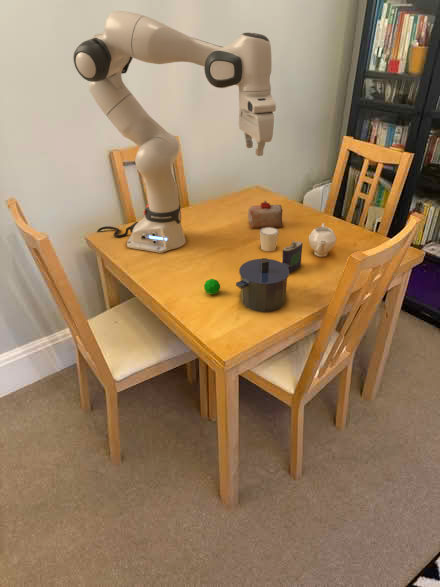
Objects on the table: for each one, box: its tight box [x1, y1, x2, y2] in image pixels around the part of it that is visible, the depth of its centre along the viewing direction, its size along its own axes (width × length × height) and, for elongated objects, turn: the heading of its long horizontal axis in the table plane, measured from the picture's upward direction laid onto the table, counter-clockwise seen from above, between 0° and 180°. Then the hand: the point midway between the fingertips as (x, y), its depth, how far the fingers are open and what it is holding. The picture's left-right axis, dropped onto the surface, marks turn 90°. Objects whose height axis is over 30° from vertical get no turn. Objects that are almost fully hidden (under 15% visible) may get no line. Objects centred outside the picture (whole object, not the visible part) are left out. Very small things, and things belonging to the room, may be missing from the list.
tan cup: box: [259, 227, 280, 252], centre depth 155 cm, size 7×7×7 cm
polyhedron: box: [203, 278, 221, 295], centre depth 130 cm, size 5×5×5 cm
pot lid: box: [238, 257, 290, 285], centre depth 122 cm, size 15×15×5 cm
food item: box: [247, 200, 284, 229], centre depth 171 cm, size 14×8×10 cm, turn 91°
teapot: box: [308, 222, 337, 257], centre depth 149 cm, size 10×20×9 cm, turn 168°
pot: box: [235, 263, 291, 313], centre depth 126 cm, size 14×19×10 cm
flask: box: [281, 240, 303, 275], centre depth 140 cm, size 9×3×11 cm, turn 134°
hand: (254, 151), depth 125 cm, fingers open, 8 cm apart
